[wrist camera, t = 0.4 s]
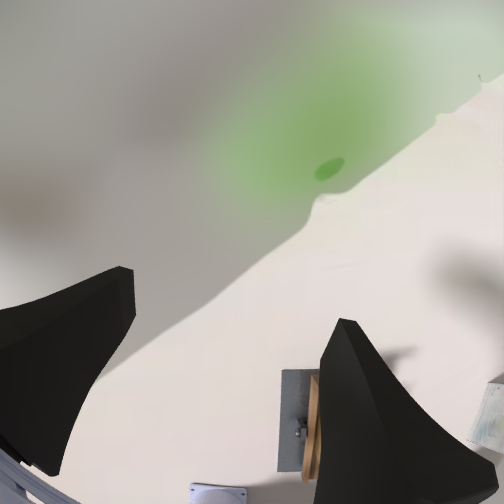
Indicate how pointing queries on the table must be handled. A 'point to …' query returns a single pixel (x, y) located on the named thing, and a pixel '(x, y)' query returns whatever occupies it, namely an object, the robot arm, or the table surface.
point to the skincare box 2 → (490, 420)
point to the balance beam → (311, 433)
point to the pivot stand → (293, 418)
